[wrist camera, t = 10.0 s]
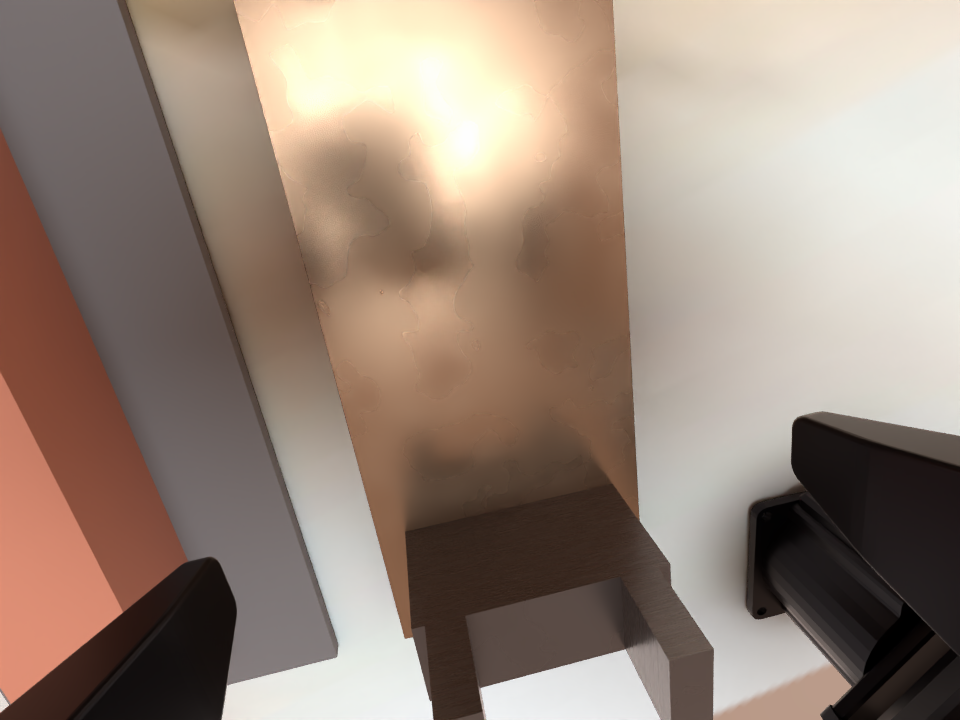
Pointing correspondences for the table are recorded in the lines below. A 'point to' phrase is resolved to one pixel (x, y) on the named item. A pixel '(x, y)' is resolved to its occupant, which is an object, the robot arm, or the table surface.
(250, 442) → the slate mat
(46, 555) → the rail
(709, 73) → the table surface
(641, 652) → the rail rack
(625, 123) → the table surface
